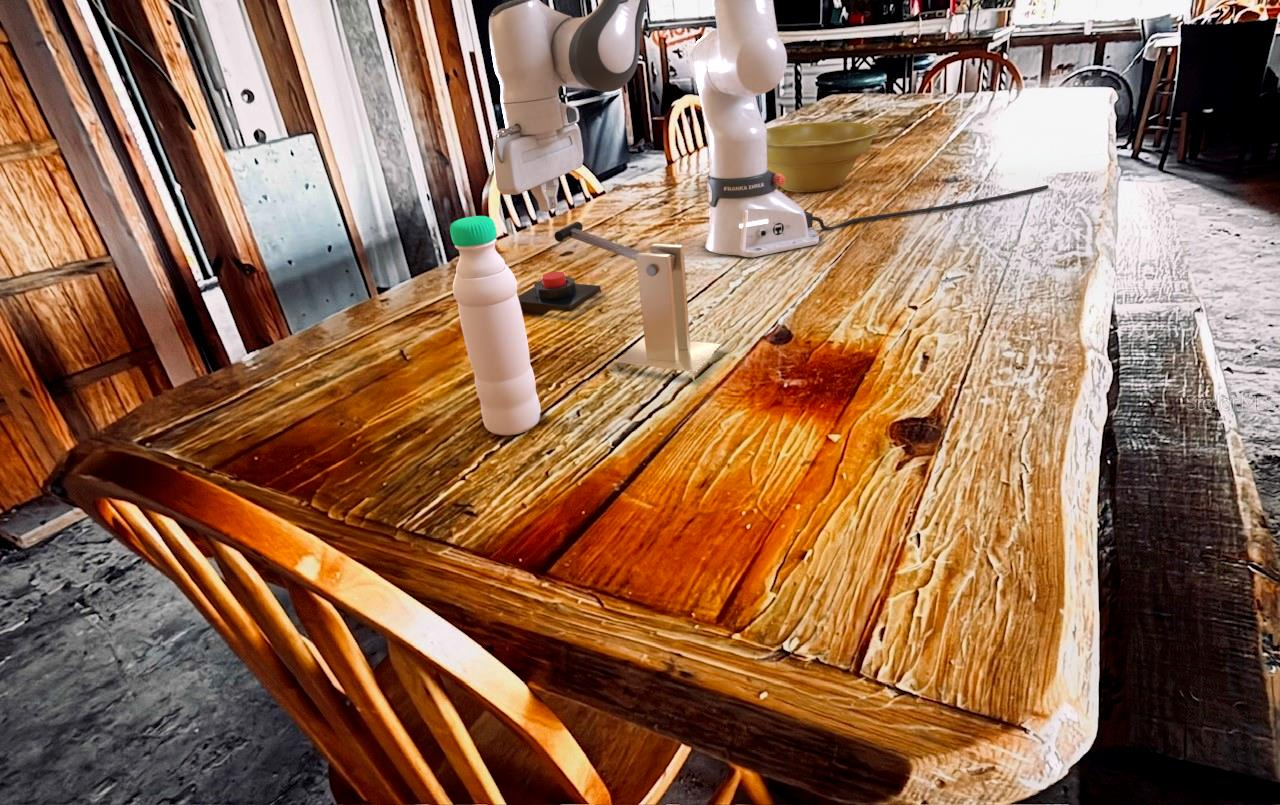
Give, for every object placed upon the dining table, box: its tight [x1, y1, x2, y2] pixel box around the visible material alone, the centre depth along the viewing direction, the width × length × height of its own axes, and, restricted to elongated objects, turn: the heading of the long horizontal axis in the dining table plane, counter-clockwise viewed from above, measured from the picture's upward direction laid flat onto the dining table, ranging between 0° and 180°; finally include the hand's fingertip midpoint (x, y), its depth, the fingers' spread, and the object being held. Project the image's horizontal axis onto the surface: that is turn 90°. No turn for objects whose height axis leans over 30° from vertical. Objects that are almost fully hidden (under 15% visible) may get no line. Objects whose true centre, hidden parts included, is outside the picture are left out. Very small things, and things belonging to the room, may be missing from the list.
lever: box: [553, 221, 676, 273], centre depth 93 cm, size 16×5×2 cm, turn 63°
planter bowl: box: [766, 121, 880, 193], centre depth 179 cm, size 32×32×13 cm
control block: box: [518, 276, 602, 316], centre depth 121 cm, size 12×10×4 cm
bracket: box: [615, 243, 722, 373], centre depth 94 cm, size 12×9×16 cm
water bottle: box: [449, 215, 542, 436], centre depth 80 cm, size 7×7×25 cm
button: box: [541, 271, 566, 288], centre depth 120 cm, size 4×4×2 cm
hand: (548, 209), depth 115 cm, fingers closed
